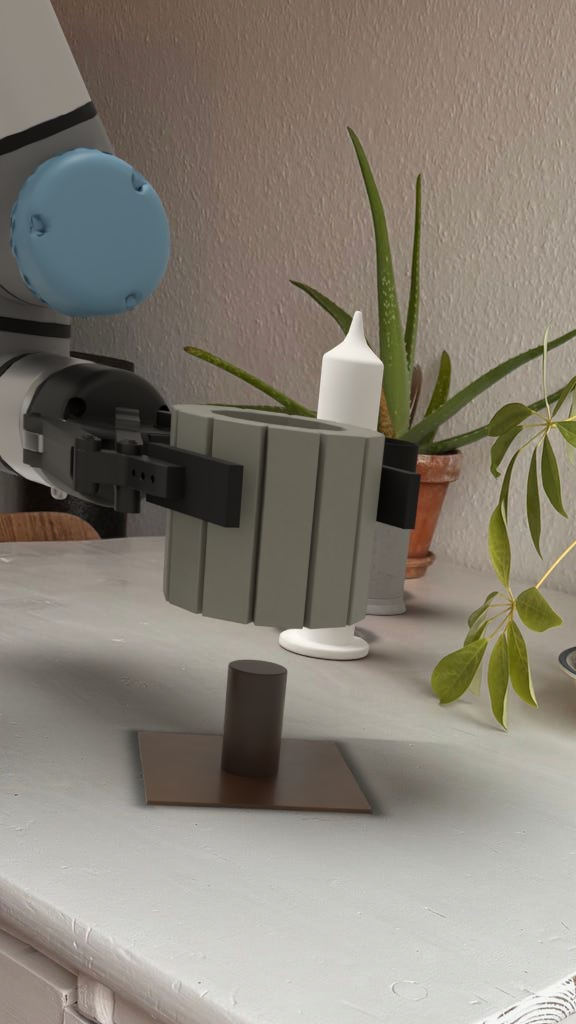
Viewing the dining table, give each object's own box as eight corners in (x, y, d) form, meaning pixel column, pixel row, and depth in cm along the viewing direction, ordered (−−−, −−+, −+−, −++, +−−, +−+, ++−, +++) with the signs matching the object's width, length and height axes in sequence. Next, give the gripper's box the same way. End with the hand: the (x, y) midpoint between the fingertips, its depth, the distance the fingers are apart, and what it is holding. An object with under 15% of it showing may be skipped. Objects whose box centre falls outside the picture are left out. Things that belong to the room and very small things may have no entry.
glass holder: (418, 617, 119) (440, 450, 114) (269, 608, 114) (284, 431, 108) (388, 596, 127) (407, 438, 121) (246, 587, 121) (259, 420, 116)
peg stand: (145, 829, 62) (152, 688, 59) (136, 756, 71) (142, 632, 69) (369, 837, 65) (385, 704, 63) (331, 766, 75) (344, 648, 72)
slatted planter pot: (170, 619, 59) (181, 415, 56) (158, 576, 68) (166, 398, 65) (381, 635, 62) (403, 443, 59) (343, 592, 71) (360, 423, 68)
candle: (293, 658, 98) (327, 304, 89) (268, 635, 104) (297, 301, 95) (380, 661, 101) (421, 320, 92) (351, 639, 107) (387, 316, 98)
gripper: (242, 501, 83) (484, 574, 70) (-112, 492, 68) (110, 584, 54) (250, 379, 81) (504, 430, 67) (-116, 340, 65) (117, 396, 51)
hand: (329, 499), depth 60 cm, fingers closed on slatted planter pot, 10 cm apart
